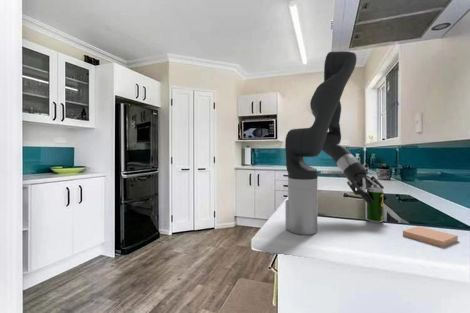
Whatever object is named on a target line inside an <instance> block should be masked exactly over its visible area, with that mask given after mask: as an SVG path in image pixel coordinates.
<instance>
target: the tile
mask: <svg viewBox="0 0 470 313" xmlns="http://www.w3.org/2000/svg"><path fill="white" fill-rule="evenodd" d="M402 236H403V237H406V238H409V239H413V240H415V241H421V242H424V243H427V244H431V245H434V246H438V247H441V248H444V247H446V246H449V245H451V244H453V243H456V242H458V241H459V235H457V234H452V233H448V232H444V231H440V230H435V229H432V228H428V227H422V226H419V225H417V226H414V227H411V228H408V229H405V230H402Z"/></svg>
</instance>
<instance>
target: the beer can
mask: <svg viewBox="0 0 470 313" xmlns="http://www.w3.org/2000/svg"><path fill="white" fill-rule="evenodd" d="M366 192H367V193H368V194H369V196H370V197H371V198H372V199H373V202H372V203H371V204H368V203H367V202H366V201H365V204H366V206H365V207H366V209H365V211H366V212H365V214H366V215H365V217H366V218H365V219H366V220H367V222H370V223H374V222H375V223H376V224H379V223H380V222H381V223H382V222H383V221H384V202H383V193H384V188H383V189H382V188H376V187H368V188H367V189H366Z"/></svg>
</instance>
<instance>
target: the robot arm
mask: <svg viewBox="0 0 470 313" xmlns="http://www.w3.org/2000/svg"><path fill="white" fill-rule="evenodd" d="M357 58H358V57H357V54H356V53H355V51H351V50H334V51H333V50H331V51H329V52H328V53H327V55H326V56H325V59H324V64H323V65H324V67H323V69H324V70H323V82H321V83H320V84H319V85H318V86H317V87H316V89H315V90H314V93H313V95H312V97H311V99H310V103H309V105H310V110H311V112H312V115H313V116H314V122H313V123H312V125H311V126H309V127H303V128H302V127H301V128H292V129H289V131H288V132H287V134H286V136H285V140H284V141H285V142H284V143H285V144H284V148H285V149H284V150H285V166H286V168H285V169H286V171H287V200H285V230H287V231H289V232H291V233H293V234H296V235H304V236H306V235H307V236H308V235H315V234H317V232H318V174H319V173H318V170H317V169H316V168H314V167H312V166H310V165H309V164H308V163H307V162H305V161H304V158H315V157H318V156H319V155H320V153H321V152H324V153H325V154H326V155H327V156H329V157H330V158H331V159H332V160H333V162H335V164H336V165H337V167H338V169H339V170H340V171H341V172H342V174H343V176H344V177H345V178H346V179H347V182H346V183H347V186H349V188H350V189H351V191H352V192H353V193H354V195H356V196H358V195H359V197H362V198H363V200H364V201H365V203H366V202H367V203H368V204H371V203H372V202H373V199H372V198H371V197H370V196H369V194H368V193H367V188H368V187H376V188H382V189H383V190H384V189H385V187H384V185H382V184H381V182H380V181H379V180H378V179H377V178H376V177H375V175H372V176H371V177H370V176H368V175H367V172H368V171H367V169H366V168H365V167H364V166H363V165H362V163H361V162H360V161H359V160H358V158H357V157H355V156H354V155H353V154H352V153H351V151H350V150H349V149H348V148H347V146H345V145H341V144H340V143H341V140H342V133H341V132H342V131H341V124H340V122H341V115H342V114H341V113H342V103H341V99H342V95H343V92H344V90H345V87H346V85H347V84H348V82H349V80H350V78H351V76H352V74H353V73H354V70H355V68H356V66H357V65H356V64H357ZM388 200H389V197H388V196H387V195H386V194H385V193H384V192H383V203H384V202H386V201H388Z"/></svg>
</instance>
